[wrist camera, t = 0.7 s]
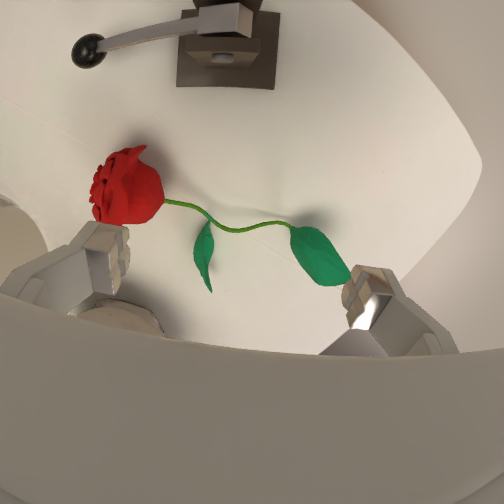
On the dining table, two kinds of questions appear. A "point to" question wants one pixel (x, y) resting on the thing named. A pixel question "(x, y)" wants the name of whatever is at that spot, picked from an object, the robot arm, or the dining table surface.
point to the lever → (168, 32)
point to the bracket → (230, 52)
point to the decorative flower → (152, 197)
